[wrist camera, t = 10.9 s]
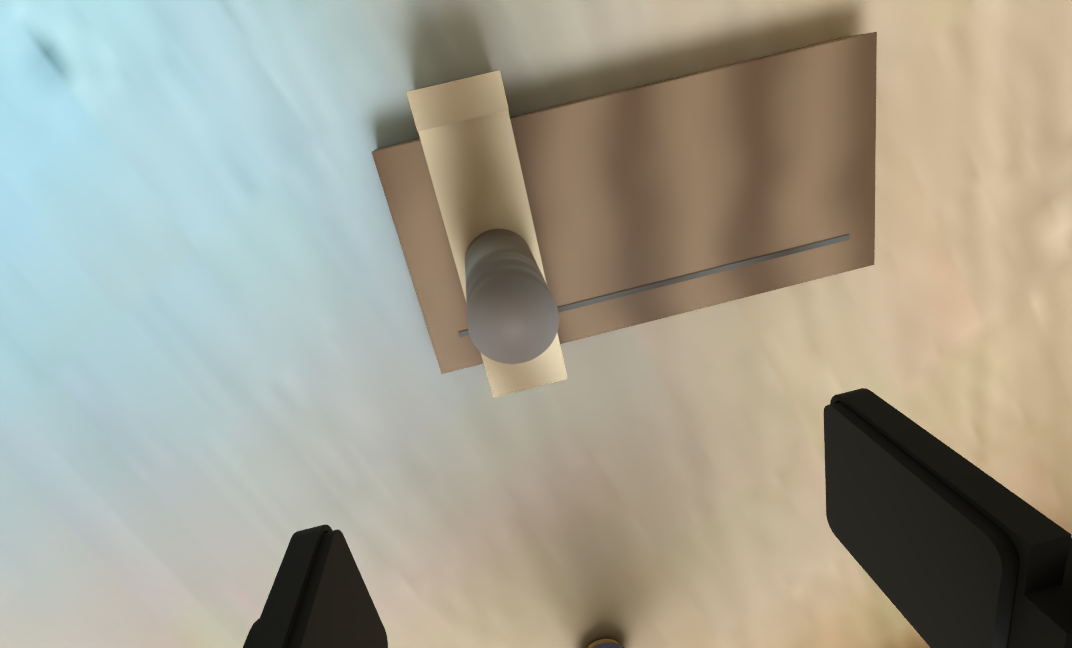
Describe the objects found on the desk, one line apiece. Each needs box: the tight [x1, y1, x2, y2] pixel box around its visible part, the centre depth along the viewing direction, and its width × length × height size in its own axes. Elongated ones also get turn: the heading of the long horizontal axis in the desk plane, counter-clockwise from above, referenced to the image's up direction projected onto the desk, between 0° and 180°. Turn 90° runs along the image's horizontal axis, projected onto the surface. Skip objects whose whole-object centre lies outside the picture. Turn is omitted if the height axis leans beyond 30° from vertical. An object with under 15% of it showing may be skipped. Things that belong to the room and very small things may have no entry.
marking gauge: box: [406, 70, 568, 398], centre depth 25 cm, size 4×15×12 cm, turn 12°
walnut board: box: [372, 32, 877, 374], centre depth 31 cm, size 25×12×2 cm, turn 102°
